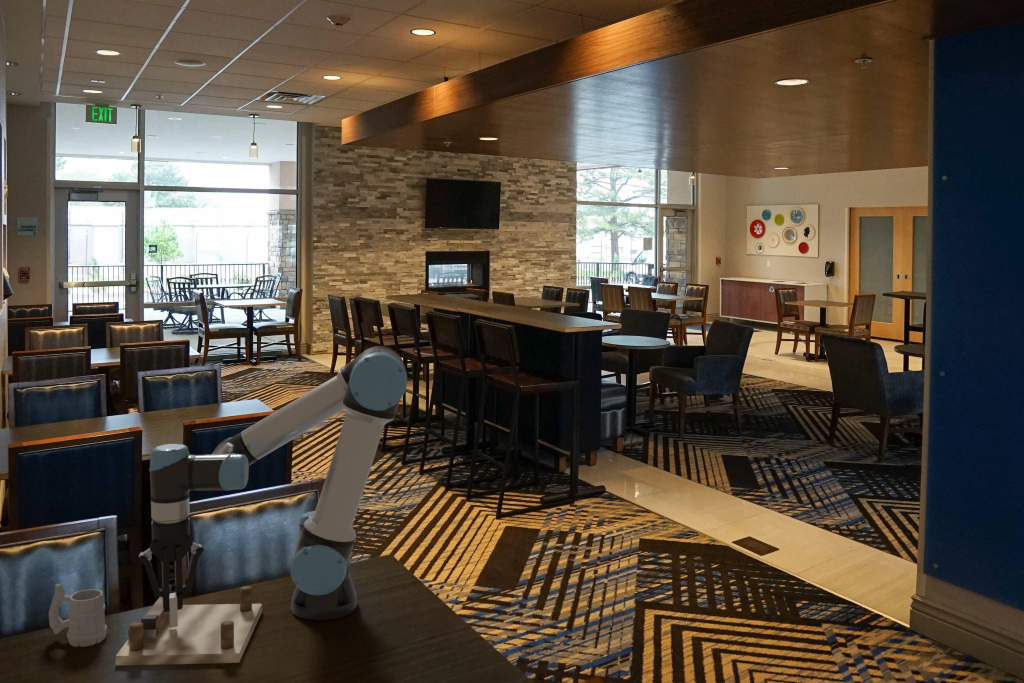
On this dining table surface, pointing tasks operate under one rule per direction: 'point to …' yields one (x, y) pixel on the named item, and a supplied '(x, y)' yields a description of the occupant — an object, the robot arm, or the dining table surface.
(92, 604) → the mug
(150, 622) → the brown piece
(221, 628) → the stool seat
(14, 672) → the dining table surface
